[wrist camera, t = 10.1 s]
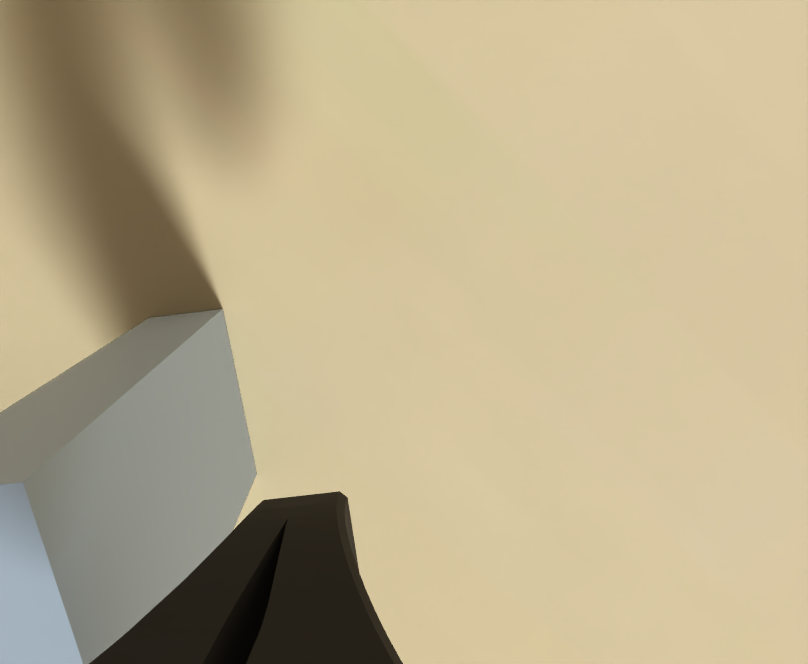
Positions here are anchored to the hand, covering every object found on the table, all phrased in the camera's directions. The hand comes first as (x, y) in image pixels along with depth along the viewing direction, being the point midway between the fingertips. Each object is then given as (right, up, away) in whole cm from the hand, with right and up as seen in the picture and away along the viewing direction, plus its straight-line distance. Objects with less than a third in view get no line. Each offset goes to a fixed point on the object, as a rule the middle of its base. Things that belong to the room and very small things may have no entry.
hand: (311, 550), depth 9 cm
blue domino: (-4, +2, +7) cm, 8 cm away
